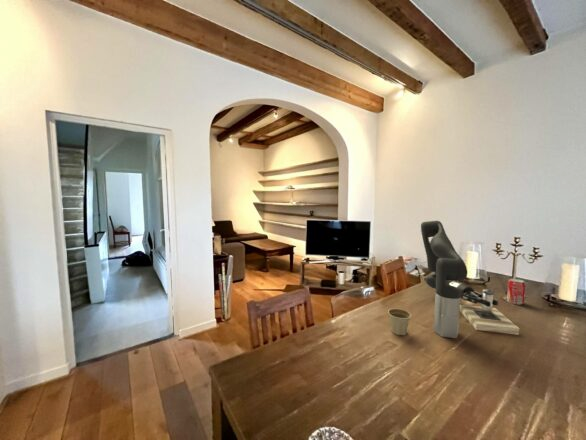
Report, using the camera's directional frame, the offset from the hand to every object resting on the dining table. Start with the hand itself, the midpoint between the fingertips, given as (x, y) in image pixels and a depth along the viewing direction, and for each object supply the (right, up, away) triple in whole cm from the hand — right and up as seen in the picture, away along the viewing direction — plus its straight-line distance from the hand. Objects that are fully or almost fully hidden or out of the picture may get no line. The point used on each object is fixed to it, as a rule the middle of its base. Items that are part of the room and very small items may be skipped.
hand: (493, 304), depth 116 cm
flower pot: (-47, -11, -5) cm, 48 cm away
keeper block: (-1, -10, +4) cm, 10 cm away
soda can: (+32, -8, +24) cm, 41 cm away
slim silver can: (-1, -8, +4) cm, 9 cm away
